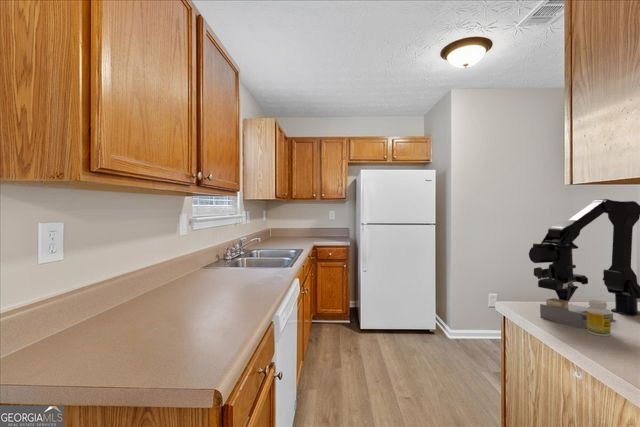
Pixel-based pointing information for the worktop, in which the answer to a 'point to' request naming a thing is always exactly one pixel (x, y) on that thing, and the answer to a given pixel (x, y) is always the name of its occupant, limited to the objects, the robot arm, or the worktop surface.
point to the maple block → (557, 303)
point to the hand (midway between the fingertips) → (563, 305)
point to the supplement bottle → (598, 318)
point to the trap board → (567, 315)
